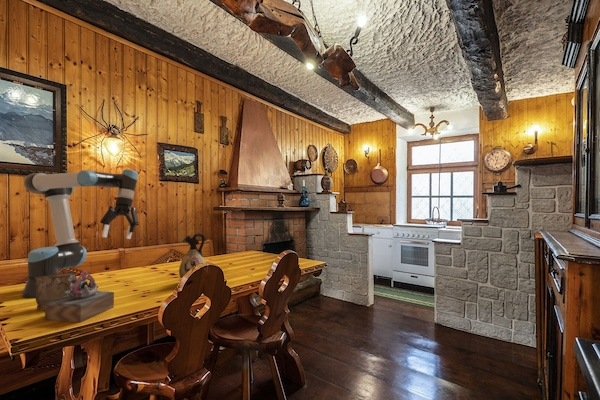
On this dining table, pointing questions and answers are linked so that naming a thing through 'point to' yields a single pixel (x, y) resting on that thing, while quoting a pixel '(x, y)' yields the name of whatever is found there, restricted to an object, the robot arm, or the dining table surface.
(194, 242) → the ceramic jug
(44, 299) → the mineral sample
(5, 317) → the dining table surface
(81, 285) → the brake caliper
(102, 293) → the wooden block
